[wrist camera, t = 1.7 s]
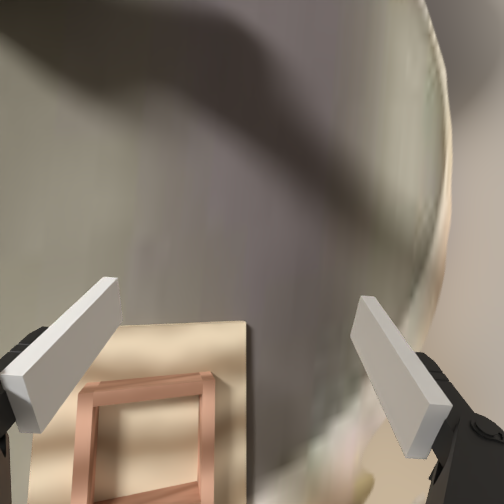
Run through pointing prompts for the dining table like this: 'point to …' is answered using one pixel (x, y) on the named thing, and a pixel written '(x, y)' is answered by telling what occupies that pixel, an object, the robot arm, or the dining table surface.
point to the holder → (151, 422)
